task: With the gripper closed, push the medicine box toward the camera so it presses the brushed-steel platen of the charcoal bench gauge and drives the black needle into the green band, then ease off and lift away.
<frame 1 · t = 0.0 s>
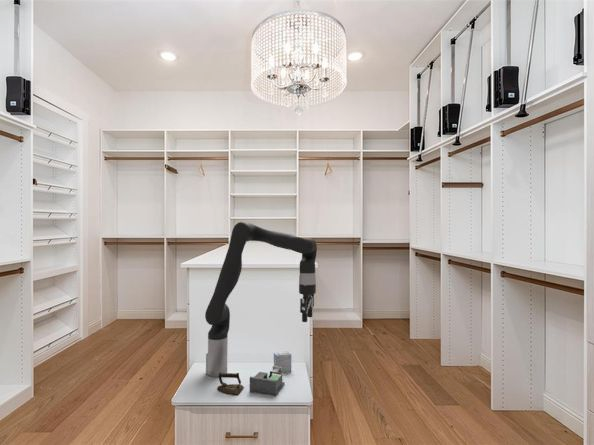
hand: (307, 319, 149), 29 cm above the table, fingers open, 8 cm apart
clothes iron: (228, 391, 143), on the table
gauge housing: (267, 388, 146), on the table
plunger: (277, 373, 153), point 3 cm above the table, slide at 0.0 cm
medicine box: (282, 371, 164), on the table
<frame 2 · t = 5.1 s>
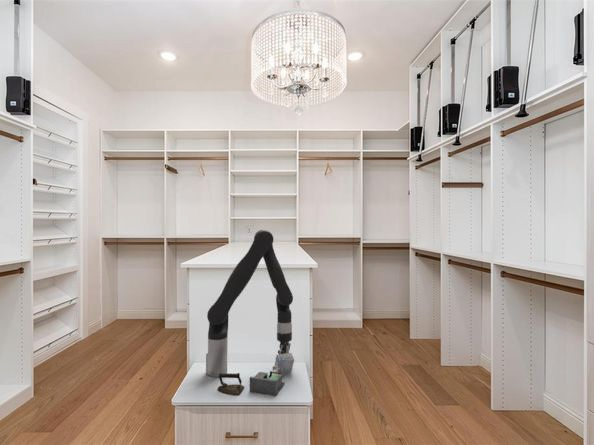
hand: (284, 365, 167), 1 cm above the table, fingers closed
medicine box: (282, 369, 163), point 1 cm above the table, touching gripper
everything else where it was.
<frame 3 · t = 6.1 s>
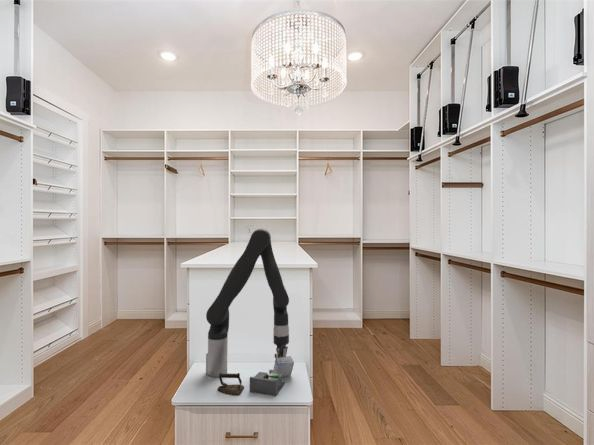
hand: (281, 369, 162), 2 cm above the table, fingers closed
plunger: (273, 377, 149), point 3 cm above the table, slide at 4.1 cm
medicine box: (281, 374, 158), point 1 cm above the table, touching gripper, hand
everything else where it was.
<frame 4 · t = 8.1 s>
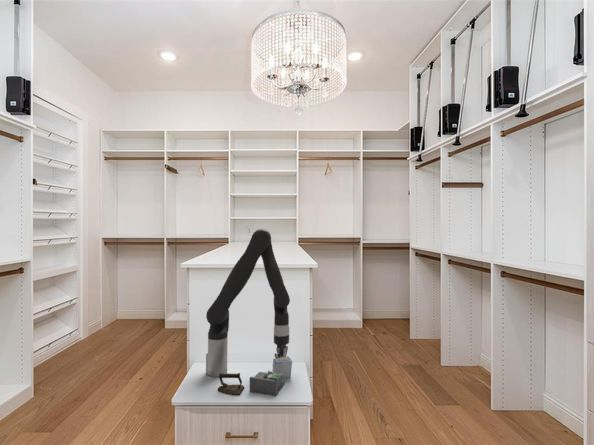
hand: (281, 369, 162), 2 cm above the table, fingers closed
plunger: (272, 378, 147), point 3 cm above the table, slide at 5.9 cm
medicine box: (281, 376, 157), on the table
everything else where it was.
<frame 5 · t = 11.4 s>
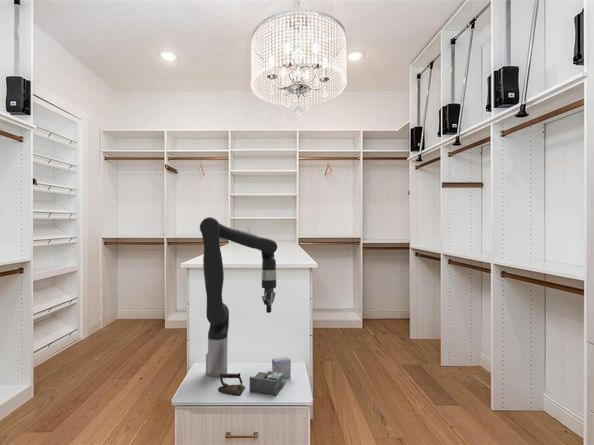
hand: (268, 312, 171), 27 cm above the table, fingers closed
at the end: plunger slide at 5.9 cm; the gripper is holding nothing; medicine box tilted 0° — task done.
